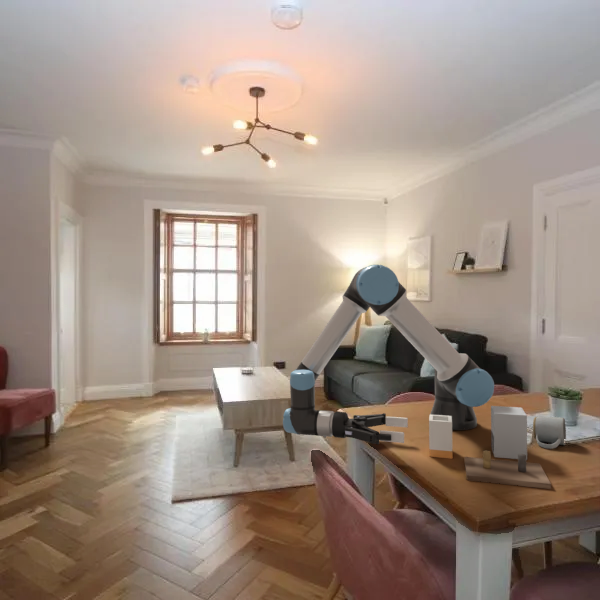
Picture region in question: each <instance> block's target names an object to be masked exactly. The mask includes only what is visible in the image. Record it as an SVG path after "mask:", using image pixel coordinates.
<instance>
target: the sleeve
mask: <svg viewBox="0 0 600 600" xmlns="http://www.w3.org/2000/svg"><path fill="white" fill-rule="evenodd" d="M428 416H429V417H428V429H429V430H428V431H429V432H428V434H429V436H428V438H429V439H428V440H429V441H428V442H429V445H428V446H429V457H431V458H433V457H434V458H440V459H441V458H442V459H453V430H452V416H445V415H430V414H429V415H428Z"/></svg>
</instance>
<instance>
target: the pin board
mask: <svg viewBox="0 0 600 600" xmlns="http://www.w3.org/2000/svg"><path fill="white" fill-rule="evenodd" d="M491 453H492V452H491V451H490V450H483V451H482V457H472V456H463V457H464V460H463V461H464V467H465V474H466V480H467V481H473V482H480V481H481V482H482V483H489V482H491V483H492V484H499V483H500V484H499V485H510V486H517V485H518V487H519V486H520V487H528V488H537V489H546V490H547V489H548V490H551V489H552V483H551V481H550V479H549V477H548V476H547V475H546V473H545V470H544V469H543V467H542V465H541V463H537V462H528V461H527V460H526V455H525V454H521V453H520V454H518V459H517V460H515V461H514V460H505V459H504V460H503V459H494V458H492V455H491ZM481 482H480V483H481Z"/></svg>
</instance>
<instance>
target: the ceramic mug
mask: <svg viewBox="0 0 600 600" xmlns="http://www.w3.org/2000/svg"><path fill="white" fill-rule="evenodd" d="M566 427H567V426H566V419H565V418H564V417H559V416H557V417H556V416H535V417H534V418H533V421H532V433H533V435H532V436H533V438H534V440H536V442H537V443H536V444H537V445H538V446H539V447H541V448H542V449H543V448H544V449H548V450H552V449H556V448H557V447H558V446H560V445H561V446H565V445H566V443H564V439H566V440H567V432H566V431H567V428H566ZM547 443H548V444H547Z"/></svg>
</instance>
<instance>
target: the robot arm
mask: <svg viewBox="0 0 600 600" xmlns="http://www.w3.org/2000/svg"><path fill="white" fill-rule="evenodd" d="M407 297H408V296H407V289H406V288H405V287H404V286H403V284H401V283H400V281H399V279H398V276H397V275H396V273H395V271H393V270H392V269H390V268H389V267H388V266H385V265H382V264H372V265H368V266H365V267H363V268H361V269H359V270H358V271H357V272H356V273H355V274H354V276H353V277H352V279H351V281H350V283H349V285H348V286H347V289H346V291H345V292H344V293H343V294H342V302H341V303H340V304H339V306H338V307H337V309H336V310H335V312H334V313H333V315H332V316H331V318H330V319H329V320H328V322H327V323H326V325H325V326H324V328H323V329H322V331H321V332H320V334H319V335H318V337H317V339H315V341H314V342H313V344H312V346H311V347H310V349H309V350H308V351H307V353H306V354H305V355H304V357H303V358H302V360H301V362H300V363H299V364H298V366H297V368H295V369H294V370H293V371H291V372H290V377H289V378H290V379H289V388H290V391H289V392H290V408H286V409H285V411H284V412H283V415H282V416H283V419H282V427H283V429H284V431H285V432H286V433H289V434H294V435H302V436H303V435H304V436H305V435H306V436H318V437H323V438H324V439H326V438H327V437H330V438H331V437H334V438H338V439H345V438H350V439H351V438H352V439H356V440H358V441H359V440H360V441H362V442H367V443H370V444H375V445H380V442H387V443H388V442H389V443H399V444H404V443H405V432H403V431H394V430H393V431H391V430H379V431H378V430H376V429H372V427H377V426H383V425H384V426H386V427H394V428H395V427H396V428H408V427H409V426H408V425H409V424H408V423H409V421H408V417H402V416H401V417H400V416H398V417H397V416H387V414H386V413H385V412H383V413H378V414H376V413H375V414H362V415H361V414H353V416H352V417H353V418H349V415H348V413H347V412H345V411H333V410H317V409H316V398H315V397H316V393H315V392H316V389H315V388H316V387H315V384H316V381H317V379H318V378H319V376H320V375H321V373H322V371H323V370H324V369H325V368H326V366H327V365H328V363H329V362H330V360H331V358H332V357H333V356H334V355H335V353H336V351H337V350H338V348H339V347H340V346H341V344H342V342H344V340H345V338H346V337H347V335H348V334H349V333H350V331H351V330H352V328H353V326H354V325H355V324H356V322H357V321H358V320H359V318H360V317H361V315H362V314H364V313H365V314H366V313H367V312H368V310H369V309H371V310H372V311H373V312H374V313H375V314H376V316H379V317H385V318H387V320H388V321H389V322H390V323H391V324H392V325H393V326H394V327H395V328H396V330H398V332H400V333H401V335H402V336H403V337H404V338H405V339H406V340H407V341H408V342H409V343H410V344H411V345H412V346H413V347H414V349H415V350H417V352H419V354H420V355H421V356H422V357H423V358H424V359H425V360H426V361H427V362H428V363H429V364H430V366H432V368H433V369H434V402H433V405H432V407H431V408H432V409H431V410H430V414H429V416H430V415H445V416H452V431H466V430H467V431H468V430H472V429H475V428H477V426H478V418H477V415H476V413H475V410H474V408H476V407H482V406H484V405H485V404H487V403H488V402H489V401H490V400H491V398H492V397H493V395H494V392H495V382H494V379H493V377H492V376H491V374H490V373H489V372H488V371H486V370H485V369H484V368H483V369H482V368H481V367H479V366H478V364H476V362H475V361H474V360H472V358H471V357H470V356H469V355H468V354H467V353H461V352H460V353H459V352H458V351H457V350H456V348H454V346H453V345H452V344H451V343H450V342H449V341H448V340H447V339H446V338H445V337H444V336H443V334H441V333H440V331H438V330H437V328H436V327H435V326H433V324H432V323H431V322H430V321H429V320H428V319H427V318H426V316H425V315H424V314H422V312H421V311H420V310H419V309H418V308H417V307H416V306H415V305H414V304H413V303H412V302H411V300H410V299H409V298H407Z"/></svg>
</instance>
